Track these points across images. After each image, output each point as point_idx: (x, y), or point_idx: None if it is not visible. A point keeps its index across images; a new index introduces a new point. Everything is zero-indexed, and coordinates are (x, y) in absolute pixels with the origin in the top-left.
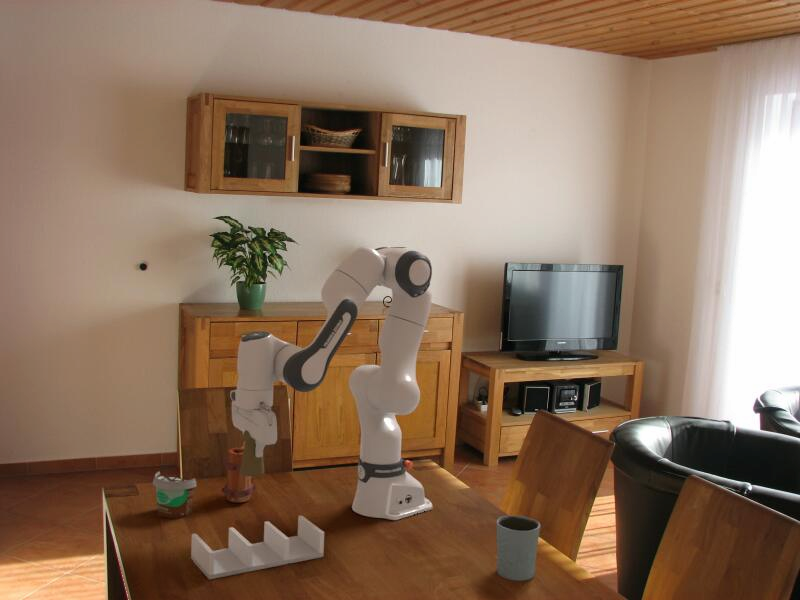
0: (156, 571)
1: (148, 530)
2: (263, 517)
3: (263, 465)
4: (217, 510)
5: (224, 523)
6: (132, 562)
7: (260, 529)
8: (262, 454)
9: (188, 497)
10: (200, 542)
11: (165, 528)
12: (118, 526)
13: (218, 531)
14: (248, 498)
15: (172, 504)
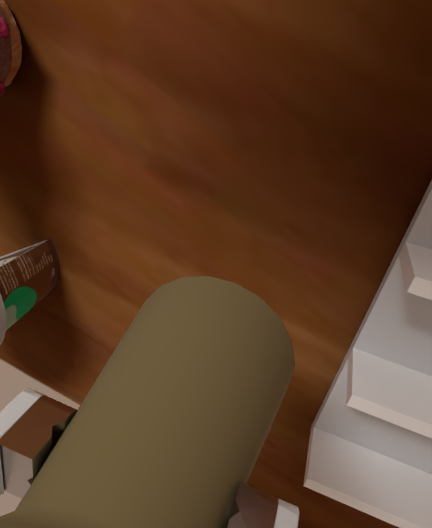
0: (311, 496)
1: (99, 368)
2: (178, 66)
3: (252, 347)
4: (49, 159)
5: (153, 213)
6: None
7: (268, 157)
8: (296, 525)
9: (19, 281)
10: (376, 515)
11: (106, 339)
12: (51, 387)
13: (197, 267)
14: (6, 8)
15: (28, 310)
